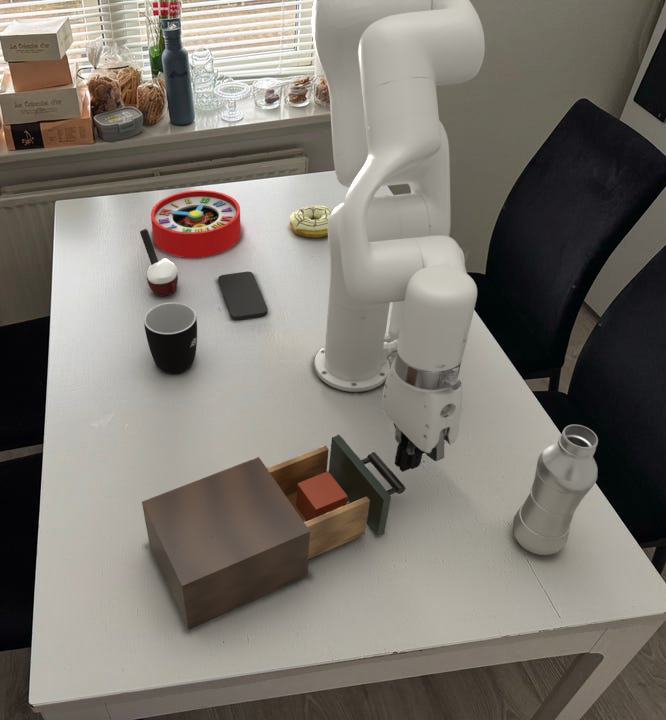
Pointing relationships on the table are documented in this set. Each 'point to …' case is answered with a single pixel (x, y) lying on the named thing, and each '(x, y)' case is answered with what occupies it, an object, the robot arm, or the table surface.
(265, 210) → the table surface
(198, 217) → the toy clock
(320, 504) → the block
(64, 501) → the table surface
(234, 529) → the cabinet
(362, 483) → the wooden drawer
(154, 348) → the mug
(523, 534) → the silver metal bottle
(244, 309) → the phone
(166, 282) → the cocoa
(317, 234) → the decorated donut
